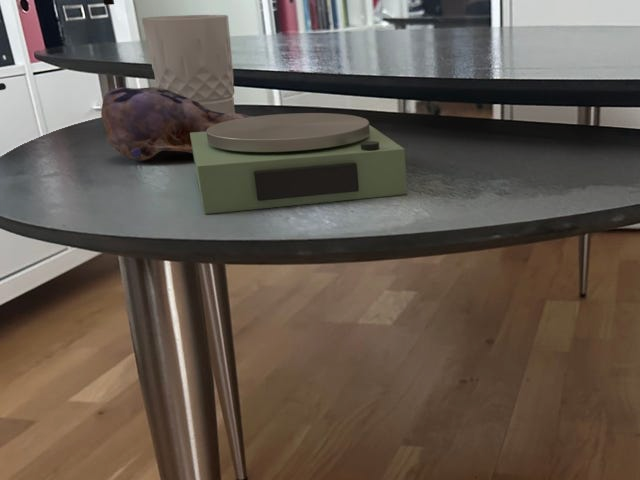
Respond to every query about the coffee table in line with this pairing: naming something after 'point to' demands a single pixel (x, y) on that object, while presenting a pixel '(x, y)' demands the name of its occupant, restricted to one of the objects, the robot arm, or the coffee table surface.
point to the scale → (297, 174)
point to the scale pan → (288, 132)
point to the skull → (155, 121)
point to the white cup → (193, 58)
